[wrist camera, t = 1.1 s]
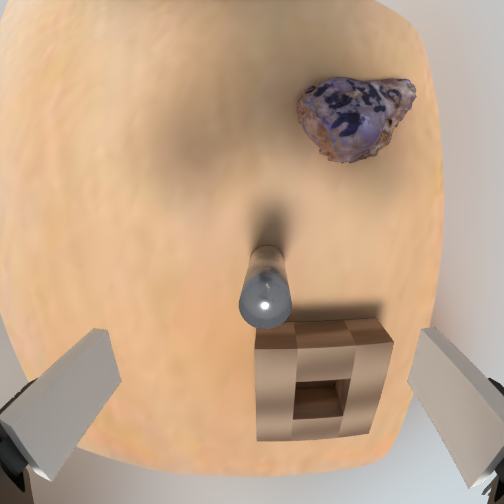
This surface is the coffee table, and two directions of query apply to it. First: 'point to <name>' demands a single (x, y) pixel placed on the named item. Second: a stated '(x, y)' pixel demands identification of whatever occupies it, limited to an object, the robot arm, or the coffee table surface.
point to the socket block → (319, 378)
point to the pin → (265, 290)
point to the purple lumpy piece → (354, 115)
